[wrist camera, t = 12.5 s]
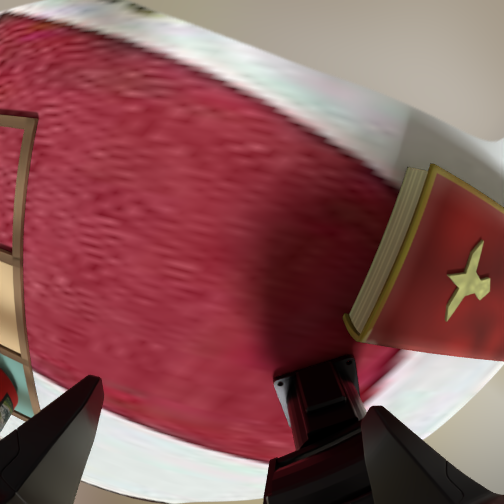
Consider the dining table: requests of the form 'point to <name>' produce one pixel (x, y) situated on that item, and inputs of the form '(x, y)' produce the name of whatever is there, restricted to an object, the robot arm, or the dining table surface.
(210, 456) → the dining table surface
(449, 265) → the hardcover book
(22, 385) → the brown frame
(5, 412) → the beverage can
